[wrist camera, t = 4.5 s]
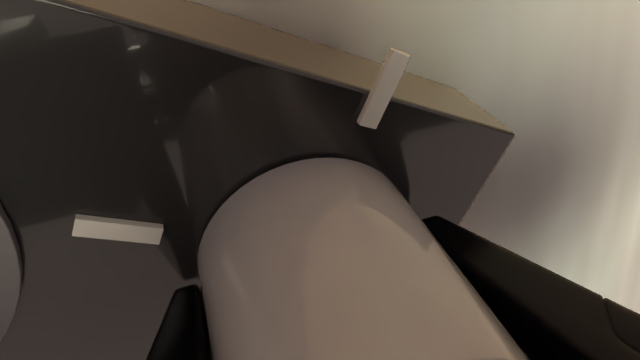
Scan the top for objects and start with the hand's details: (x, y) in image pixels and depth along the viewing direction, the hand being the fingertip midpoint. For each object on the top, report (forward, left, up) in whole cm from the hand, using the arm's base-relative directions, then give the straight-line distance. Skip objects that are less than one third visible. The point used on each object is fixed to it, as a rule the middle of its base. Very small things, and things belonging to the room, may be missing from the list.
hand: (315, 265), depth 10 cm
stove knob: (0, 0, 0) cm, 0 cm away
